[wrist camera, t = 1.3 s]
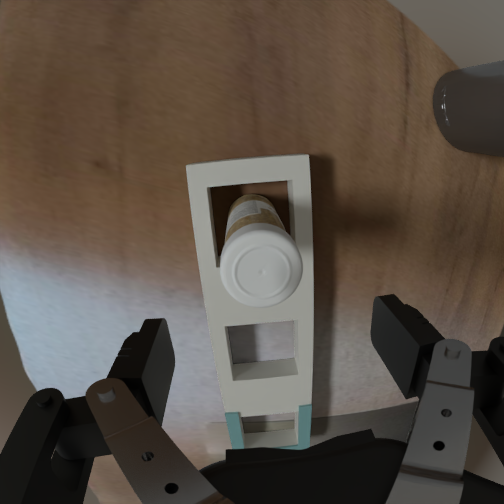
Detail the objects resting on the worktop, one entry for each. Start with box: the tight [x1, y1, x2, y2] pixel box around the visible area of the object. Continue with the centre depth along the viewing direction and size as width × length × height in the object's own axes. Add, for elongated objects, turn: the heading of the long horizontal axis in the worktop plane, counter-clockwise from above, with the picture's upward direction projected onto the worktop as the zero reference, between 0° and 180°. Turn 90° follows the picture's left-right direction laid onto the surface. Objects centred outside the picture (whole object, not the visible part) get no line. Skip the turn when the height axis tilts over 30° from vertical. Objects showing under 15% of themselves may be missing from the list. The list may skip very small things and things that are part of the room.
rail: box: [186, 154, 314, 450], centre depth 33 cm, size 10×37×3 cm, turn 5°
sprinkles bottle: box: [220, 194, 303, 308], centre depth 24 cm, size 5×5×13 cm
